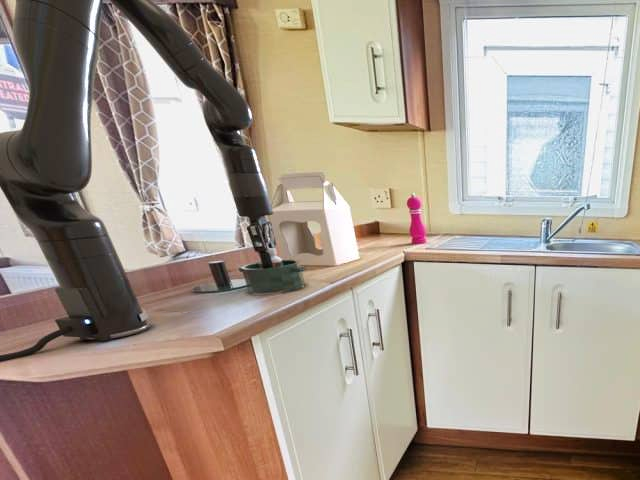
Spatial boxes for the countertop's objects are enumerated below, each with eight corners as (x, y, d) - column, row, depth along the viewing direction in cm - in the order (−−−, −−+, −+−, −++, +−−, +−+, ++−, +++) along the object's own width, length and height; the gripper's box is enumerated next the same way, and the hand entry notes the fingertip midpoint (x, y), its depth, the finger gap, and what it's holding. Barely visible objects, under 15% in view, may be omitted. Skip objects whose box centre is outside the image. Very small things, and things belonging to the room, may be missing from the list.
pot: (290, 295, 102) (283, 269, 100) (228, 294, 107) (219, 269, 104) (324, 283, 114) (318, 259, 111) (267, 282, 118) (260, 259, 115)
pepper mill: (430, 242, 184) (424, 192, 175) (414, 244, 180) (407, 193, 172) (423, 241, 189) (417, 192, 181) (408, 243, 186) (401, 193, 177)
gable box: (282, 265, 145) (257, 174, 133) (309, 258, 156) (288, 174, 144) (336, 266, 139) (316, 171, 127) (360, 259, 150) (343, 171, 138)
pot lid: (224, 296, 105) (214, 267, 102) (180, 294, 109) (169, 266, 106) (267, 283, 118) (259, 257, 115) (225, 282, 121) (217, 257, 118)
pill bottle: (274, 290, 107) (262, 250, 103) (261, 289, 109) (249, 250, 105) (293, 286, 111) (282, 247, 107) (280, 284, 113) (270, 247, 109)
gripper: (241, 194, 106) (262, 263, 113) (223, 195, 93) (247, 273, 101) (274, 193, 107) (292, 261, 115) (260, 194, 95) (281, 270, 102)
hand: (271, 266), depth 108 cm, fingers closed on pill bottle, 5 cm apart
